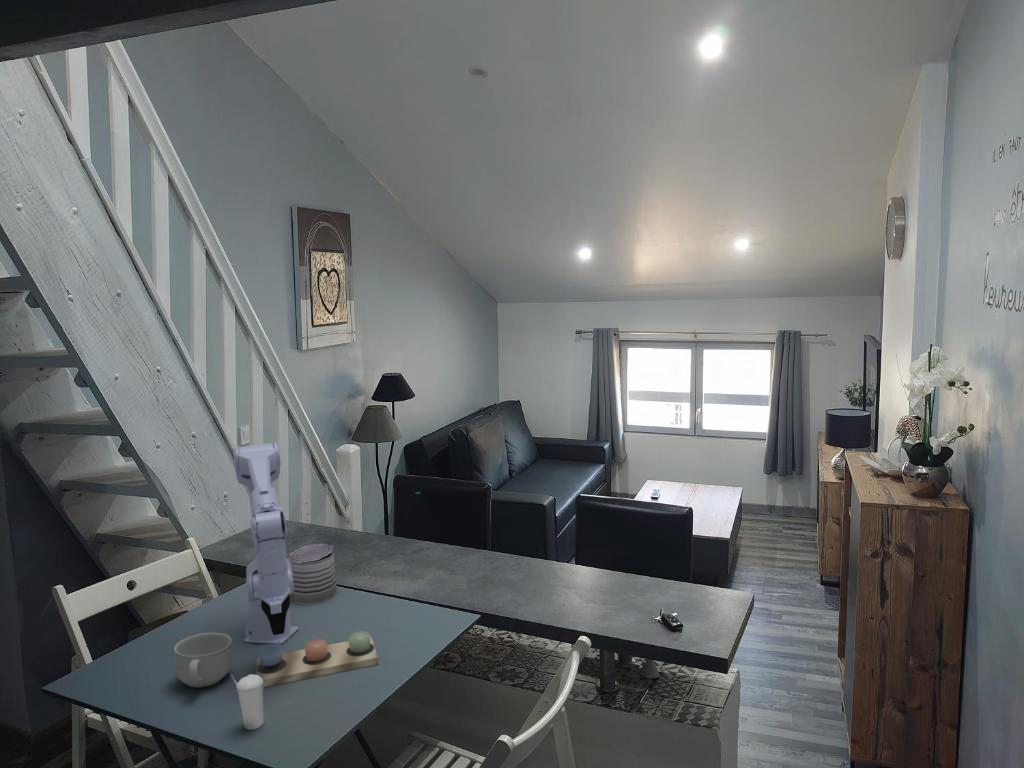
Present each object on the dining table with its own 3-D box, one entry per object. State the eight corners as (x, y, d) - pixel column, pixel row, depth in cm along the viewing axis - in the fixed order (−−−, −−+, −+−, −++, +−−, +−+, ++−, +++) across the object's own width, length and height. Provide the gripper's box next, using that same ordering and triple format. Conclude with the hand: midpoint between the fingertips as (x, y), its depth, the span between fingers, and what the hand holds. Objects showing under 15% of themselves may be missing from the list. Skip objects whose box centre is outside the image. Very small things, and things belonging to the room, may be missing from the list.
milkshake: (240, 719, 137) (234, 668, 136) (269, 716, 137) (264, 665, 136) (233, 734, 133) (227, 681, 131) (263, 731, 133) (258, 678, 132)
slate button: (259, 667, 150) (258, 655, 150) (260, 657, 154) (258, 645, 154) (282, 663, 151) (281, 650, 151) (282, 653, 156) (281, 641, 155)
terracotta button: (306, 663, 153) (305, 650, 153) (305, 653, 157) (304, 641, 157) (328, 658, 154) (327, 646, 154) (326, 649, 158) (325, 637, 158)
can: (337, 601, 187) (333, 555, 186) (290, 608, 185) (286, 561, 183) (337, 584, 198) (333, 541, 197) (292, 590, 196) (289, 546, 194)
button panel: (256, 688, 148) (256, 680, 147) (257, 664, 157) (256, 657, 157) (378, 664, 155) (377, 657, 155) (371, 643, 164) (371, 636, 164)
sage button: (350, 654, 156) (349, 642, 155) (348, 645, 160) (347, 633, 159) (371, 650, 157) (371, 638, 157) (369, 641, 161) (368, 629, 161)
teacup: (192, 666, 157) (188, 631, 156) (243, 665, 157) (239, 629, 156) (160, 703, 144) (155, 664, 143) (215, 702, 143) (211, 663, 142)
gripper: (252, 560, 156) (257, 622, 158) (251, 586, 143) (258, 652, 145) (286, 555, 159) (292, 615, 160) (289, 579, 145) (295, 645, 147)
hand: (278, 633), depth 153 cm, fingers closed
